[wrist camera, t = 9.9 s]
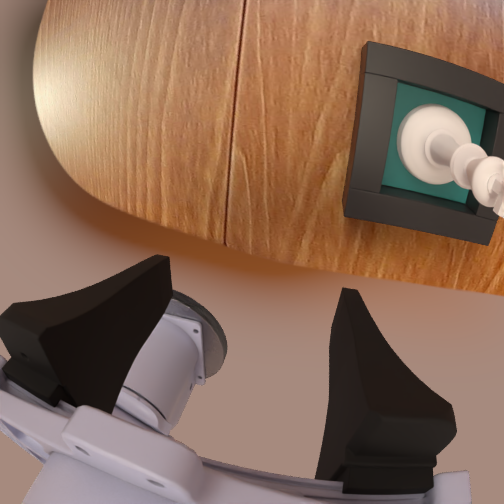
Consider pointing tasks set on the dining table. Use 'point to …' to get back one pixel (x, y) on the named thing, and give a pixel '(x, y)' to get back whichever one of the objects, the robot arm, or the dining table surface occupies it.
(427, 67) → the tray
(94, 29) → the dining table surface
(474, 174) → the chess piece
